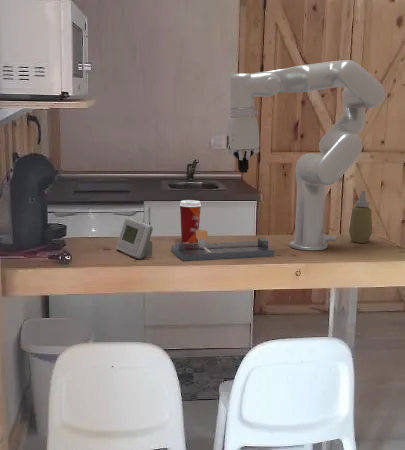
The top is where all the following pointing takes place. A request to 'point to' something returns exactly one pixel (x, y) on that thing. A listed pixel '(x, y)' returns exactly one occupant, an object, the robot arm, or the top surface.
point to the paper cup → (189, 219)
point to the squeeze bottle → (361, 221)
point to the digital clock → (135, 239)
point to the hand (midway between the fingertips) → (243, 172)
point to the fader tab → (201, 237)
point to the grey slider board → (222, 250)
